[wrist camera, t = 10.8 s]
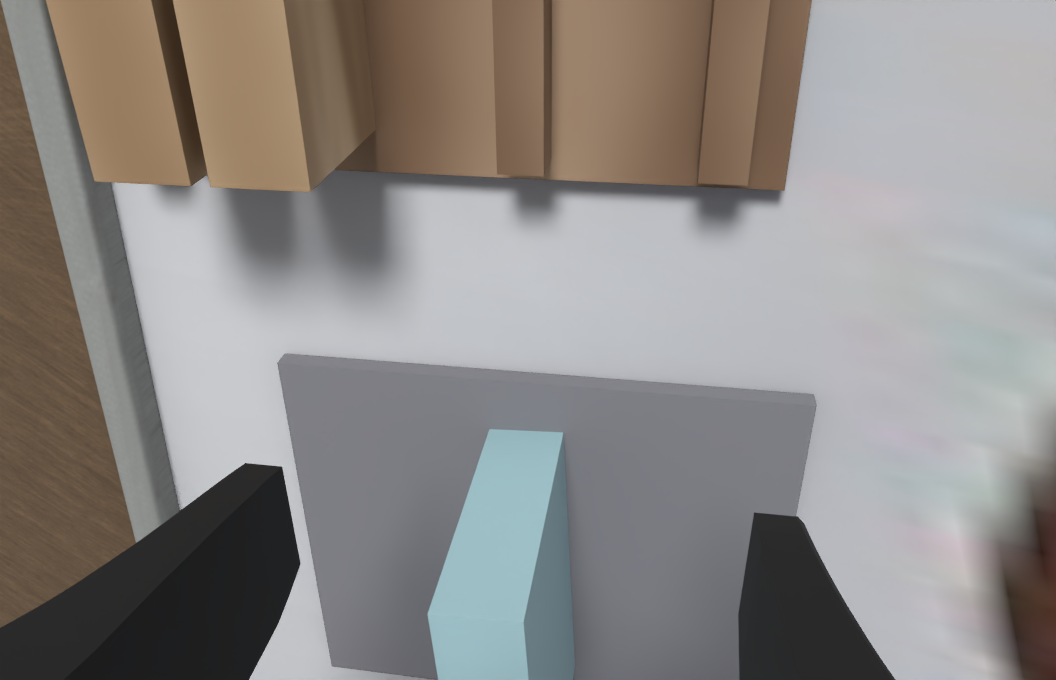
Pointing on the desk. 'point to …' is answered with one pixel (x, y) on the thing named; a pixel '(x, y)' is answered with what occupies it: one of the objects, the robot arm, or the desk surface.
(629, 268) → the desk surface
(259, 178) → the offcut
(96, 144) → the offcut
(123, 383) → the grey flat rectangular frame
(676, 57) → the rack
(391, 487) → the mat
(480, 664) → the pale teal block
